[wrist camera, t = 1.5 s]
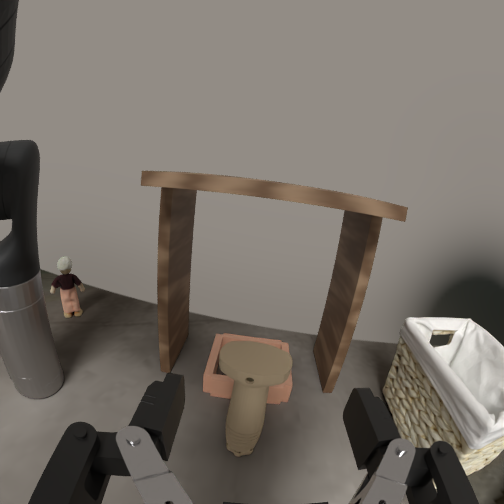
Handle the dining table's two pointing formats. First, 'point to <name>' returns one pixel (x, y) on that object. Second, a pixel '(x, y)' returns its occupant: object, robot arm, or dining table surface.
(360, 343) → the dining table surface
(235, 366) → the handle
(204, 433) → the dining table surface
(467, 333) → the storage basket
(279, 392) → the socket
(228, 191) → the wooden footstool
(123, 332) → the dining table surface
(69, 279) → the grandmother figurine
